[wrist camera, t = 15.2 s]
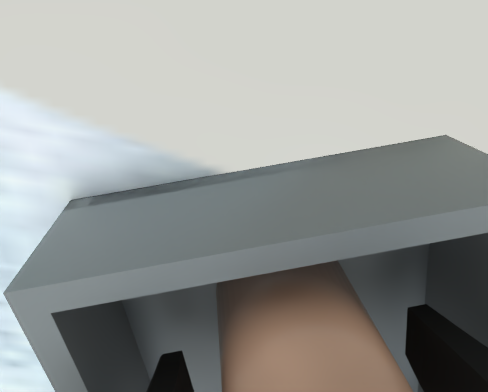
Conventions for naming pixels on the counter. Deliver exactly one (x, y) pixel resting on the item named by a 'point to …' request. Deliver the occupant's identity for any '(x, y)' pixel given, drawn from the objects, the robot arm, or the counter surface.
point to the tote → (254, 258)
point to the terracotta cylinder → (301, 335)
